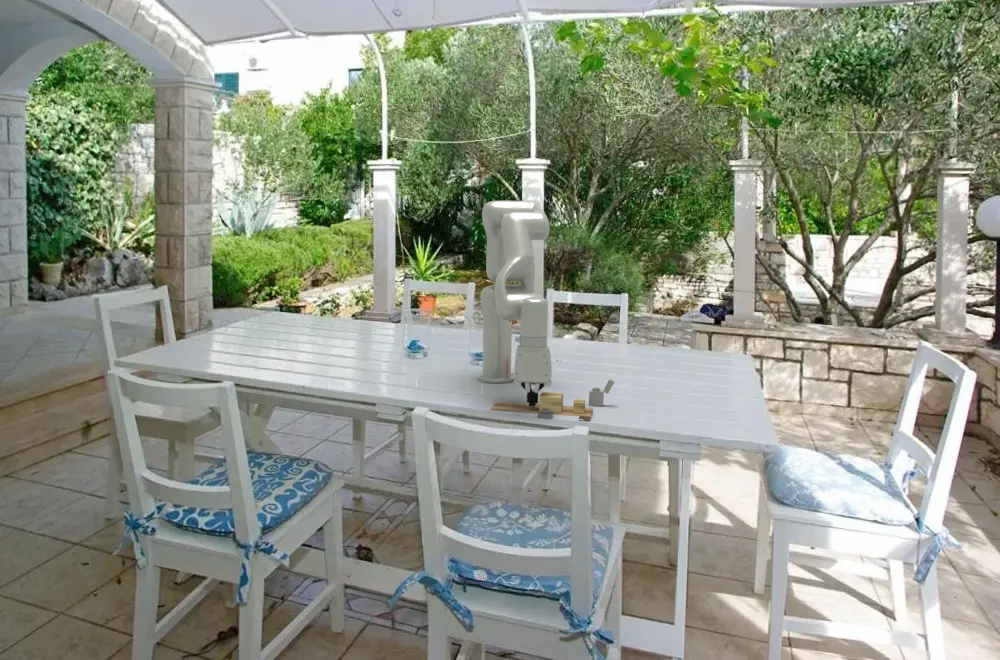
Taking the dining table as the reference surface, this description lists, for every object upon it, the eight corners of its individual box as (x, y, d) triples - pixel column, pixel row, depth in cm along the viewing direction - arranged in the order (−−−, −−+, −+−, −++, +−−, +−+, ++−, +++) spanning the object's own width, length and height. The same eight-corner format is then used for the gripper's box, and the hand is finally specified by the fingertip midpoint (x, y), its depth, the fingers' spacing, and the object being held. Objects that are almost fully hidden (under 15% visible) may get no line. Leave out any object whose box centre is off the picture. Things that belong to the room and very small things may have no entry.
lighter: (589, 405, 218) (590, 379, 217) (588, 404, 220) (589, 377, 219) (613, 406, 218) (614, 379, 216) (612, 404, 220) (614, 378, 218)
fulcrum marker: (538, 419, 204) (539, 407, 203) (553, 420, 203) (553, 408, 203) (537, 421, 202) (537, 409, 201) (552, 422, 201) (552, 410, 200)
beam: (497, 404, 219) (497, 390, 218) (592, 410, 214) (593, 396, 213) (489, 415, 207) (489, 401, 206) (590, 422, 202) (590, 407, 201)
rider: (541, 406, 212) (542, 391, 211) (562, 408, 211) (563, 392, 210) (539, 411, 207) (539, 396, 206) (560, 413, 206) (561, 397, 205)
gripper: (504, 342, 205) (503, 407, 208) (558, 345, 202) (557, 410, 205) (509, 338, 212) (508, 400, 215) (561, 340, 209) (560, 403, 212)
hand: (532, 405), depth 210 cm, fingers closed
